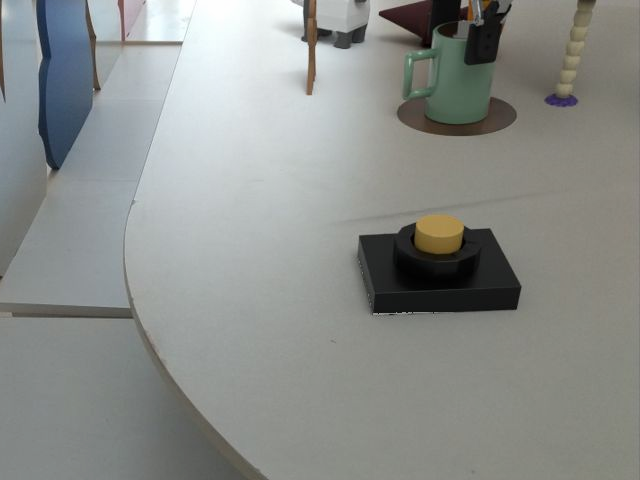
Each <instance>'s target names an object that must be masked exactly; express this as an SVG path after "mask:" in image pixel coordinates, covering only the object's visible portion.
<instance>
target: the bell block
mask: <svg viewBox="0 0 640 480" xmlns="http://www.w3.org/2000/svg"><path fill="white" fill-rule="evenodd" d="M416 223H417V221H415V222H411V223H409V224H407V225H405V226H402V227H401V228H400V230H399V231H398V232H393V233H374V234H359V235H358V242H357V243H358V245H357V259H358V258H359V260H358V262H359V261H360V264H359V266H360V265H361V268H360V270H361V269H362V272H363V275H362V277H363V276H364V279H363V281H364V280H365V283H366V287H367V291H368V294H369V299H370V302H369V304H370V303H371V306H370V308H371V307H372V310H371V312H372V311H373V313H378V314H379V313H396V312H397V313H402V312H406V313H408V312H412V313H413V312H433V313H432V314H435V313H434V312H454V313H473V312H474V313H477V312H493V311H494V312H497V311H499V312H501V311H517V310H518V307H519V306H518V305H519V302H520V298H521V297H520V296H521V292H522V288H523V287H522V285H521V283H520V280H519V279H518V277H517V275H516V273H515V271H514V269H513V268H512V266H511V264H510V262H509V260H508V258H507V256H506V255H505V252H504V251H503V249H502V247H501V245H500V244H499V242H498V240H497V238H496V235H495V234H494V232H493V230H492V229H491V228H490V227H489V228H487V227H485V228H470V227H467V226H466V225H464V231H463V237H462V243H461V248H460V249H459V250H458V251H455V252H453V253H448V254H434V253H430V252H425V251H421V250H420V249H418V248H416V247H415V245H414V238H415V229H416ZM362 272H361V273H362ZM365 283H364V284H365ZM366 287H365V288H366ZM367 291H366V292H367ZM369 299H368V300H369Z"/></svg>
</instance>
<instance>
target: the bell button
mask: <svg viewBox="0 0 640 480" xmlns="http://www.w3.org/2000/svg"><path fill="white" fill-rule="evenodd" d="M416 222H417V223H416V229H415V238H414V245H415V247H416V248H418V249H420V250H421V251H425V252H430V253H434V254H448V253H453V252H455V251H458V250H459V249H460V248H461V243H462V237H463V231H464V226H465V225H464V223H463V222H462V220H461V219H459V218H457V217H455V216H451V215H448V214H439V213H438V214H435V213H434V214H428V215H425V216H422V217H420V218H419V219H418V220H417V221H416Z"/></svg>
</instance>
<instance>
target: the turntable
mask: <svg viewBox="0 0 640 480" xmlns="http://www.w3.org/2000/svg"><path fill="white" fill-rule="evenodd" d="M425 100H426V97H425V98H417V99H410V100H405V102H403V103H402V104H401V105H400V106H399V107H398V109H397V111H396V116H397V118H398V120H399V121H400V122H401V123H402V124H404V125H405V126H407V127H409V128H411V129H413V130H415V131H419V132H421V133H426V134H432V135H438V136H446V137H469V136H470V137H472V136H480V135H487V134H492V133H495V132H497V131H501V130H504V129H505V128H508V127H510V126H511V125H512V124H513V123H514V122H515V121H516V119H517V115H518V113H517V111H516V109H515V108H514V107H513V106H512V105H511V104H510V103H508V102H505V100H501V99H499V98H496V97H494V96H491V97H490V103H489V110H488V114H487V116H486V117H485V118H484V119H482V120H480V121H477V122H474V123H468V124H446V123H441V122H437V121H434V120H431V119H430V118H428V117H427V116H426V115H425V113H424V109H425Z"/></svg>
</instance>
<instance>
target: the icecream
mask: <svg viewBox="0 0 640 480" xmlns="http://www.w3.org/2000/svg"><path fill="white" fill-rule="evenodd" d="M431 2H432V0H421V1H417V2H412V3H408V4H404V5H400V6H396V7H391V8H385V9H383V10H379V11H378V16H379V17H381V18H383V19H385V20H387V21H388V22H390V23H392V24H394V25H397V26H398V27H400V28H401V29H404V30H406V31H408V32H409V33H412V34H414V35H415V36H417V37H419V38H420V39H421V41H420V46H421V47H424V46H425V44H428V45H431V46H432V37H430V36H429V35H428V26H429V18H430V10H431ZM468 6H469V5H467V6H464V7H461V8H460V15H459V21H468Z"/></svg>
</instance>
